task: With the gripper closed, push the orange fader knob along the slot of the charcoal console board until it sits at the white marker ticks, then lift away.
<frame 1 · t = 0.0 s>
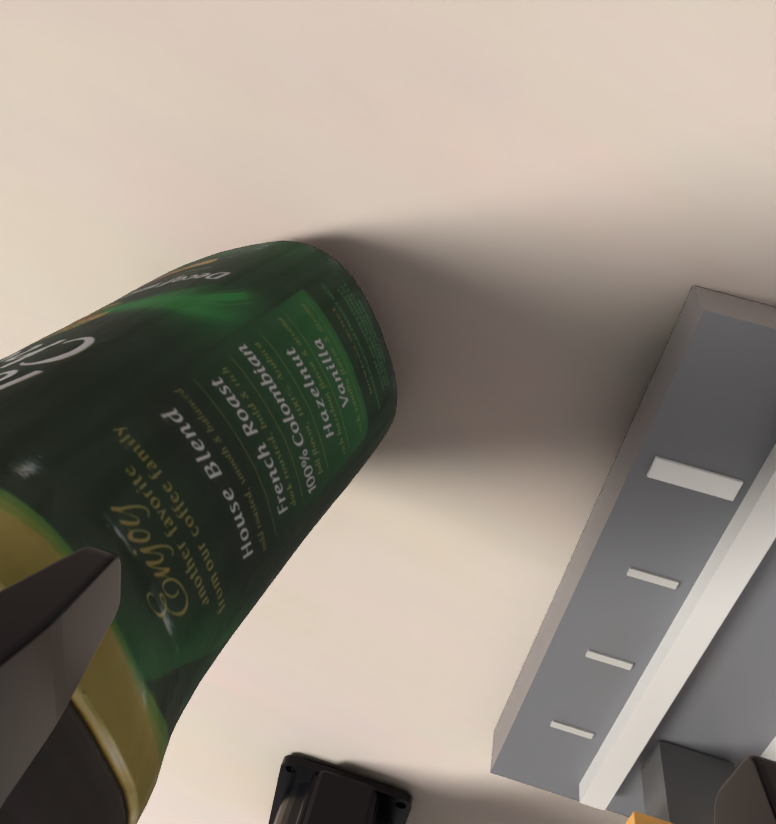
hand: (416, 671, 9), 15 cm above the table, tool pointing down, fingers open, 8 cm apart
coffee jar: (264, 354, 25), on the table, touching gripper
console: (752, 606, 26), on the table
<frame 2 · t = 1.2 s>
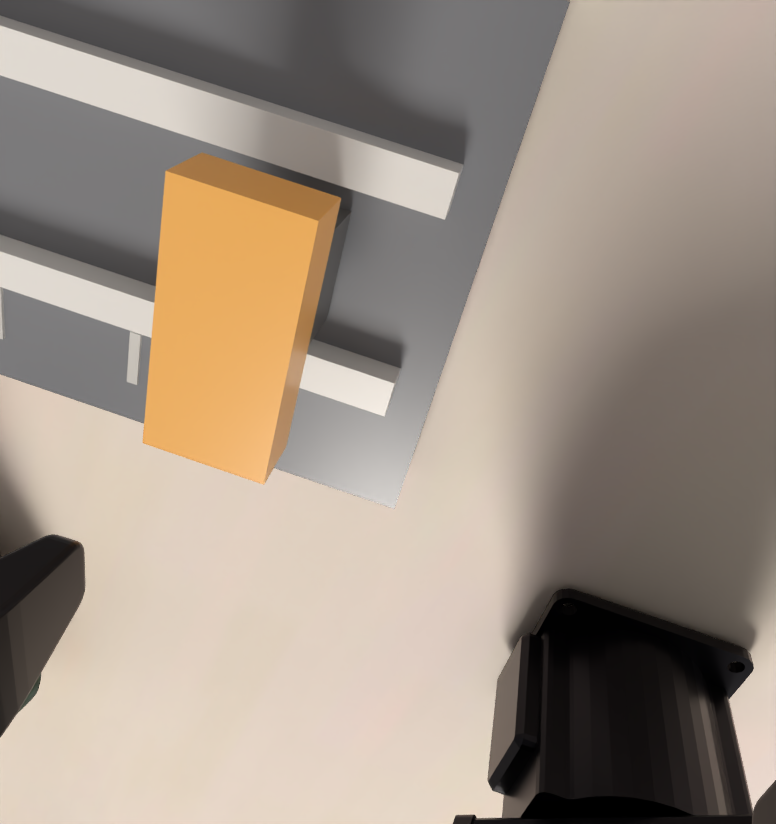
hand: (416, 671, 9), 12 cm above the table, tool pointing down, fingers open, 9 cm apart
console: (94, 153, 19), on the table
fader: (266, 294, 15), point 5 cm above the table, slide at 0.0 cm
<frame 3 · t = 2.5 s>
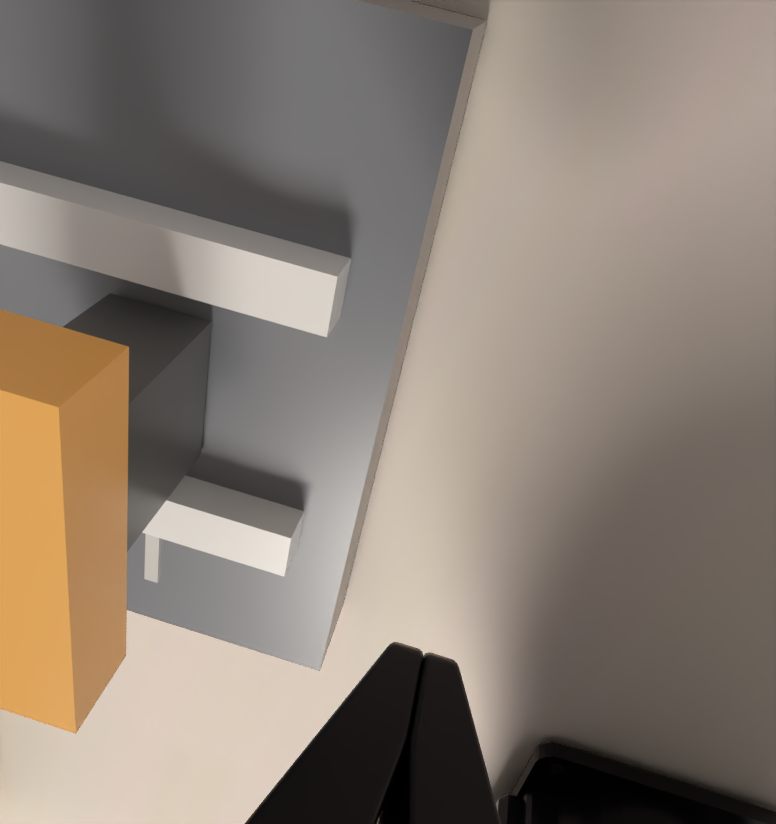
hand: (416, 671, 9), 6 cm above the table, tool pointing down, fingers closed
fader: (81, 454, 11), point 5 cm above the table, slide at 0.0 cm
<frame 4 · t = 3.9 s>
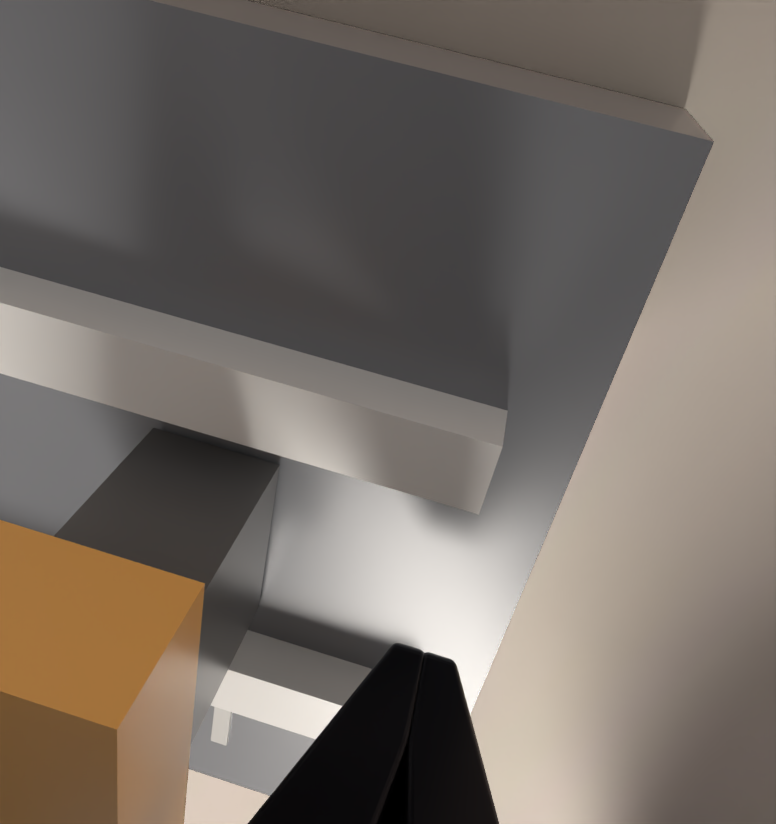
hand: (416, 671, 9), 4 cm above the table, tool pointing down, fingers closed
fader: (122, 655, 9), point 5 cm above the table, slide at 0.5 cm, touching gripper
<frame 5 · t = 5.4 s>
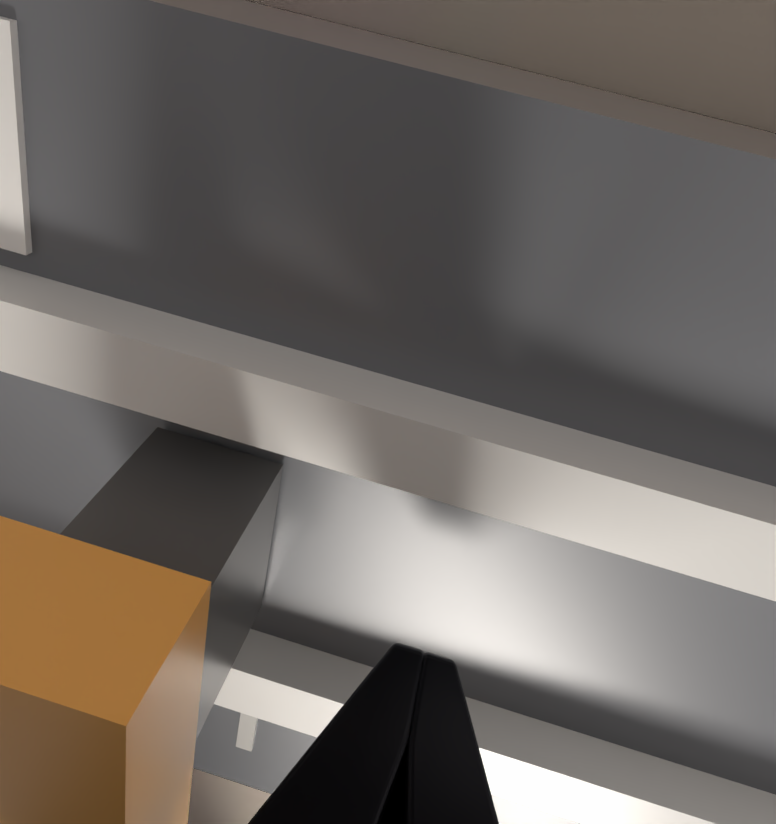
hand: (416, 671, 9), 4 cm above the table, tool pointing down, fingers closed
console: (403, 486, 12), on the table
fader: (127, 653, 9), point 5 cm above the table, slide at 9.0 cm, touching gripper
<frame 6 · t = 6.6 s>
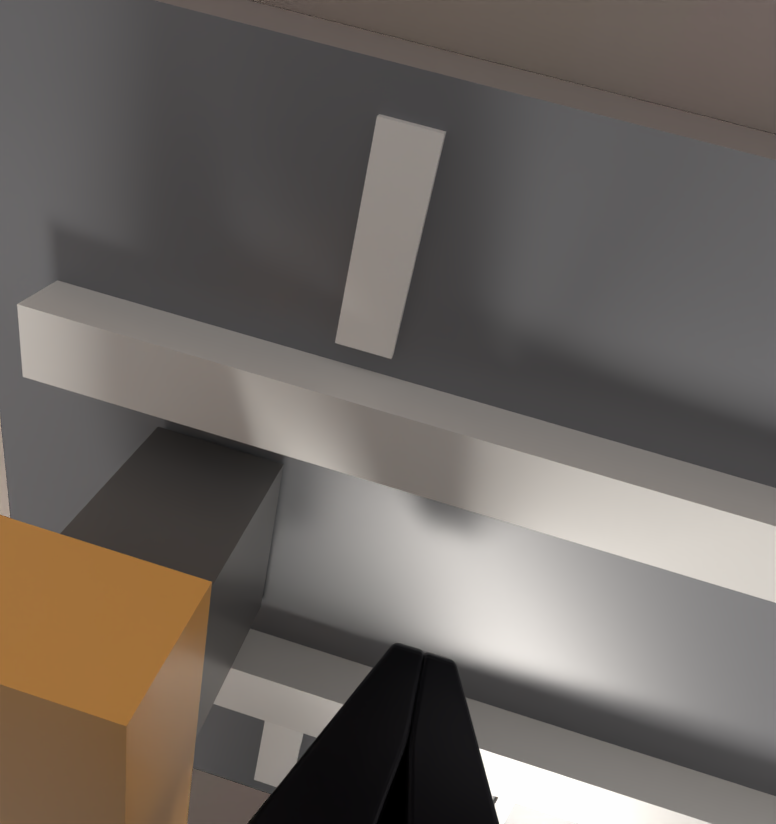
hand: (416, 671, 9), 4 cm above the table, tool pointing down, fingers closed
console: (679, 569, 12), on the table
fader: (127, 653, 9), point 5 cm above the table, slide at 13.6 cm, touching gripper
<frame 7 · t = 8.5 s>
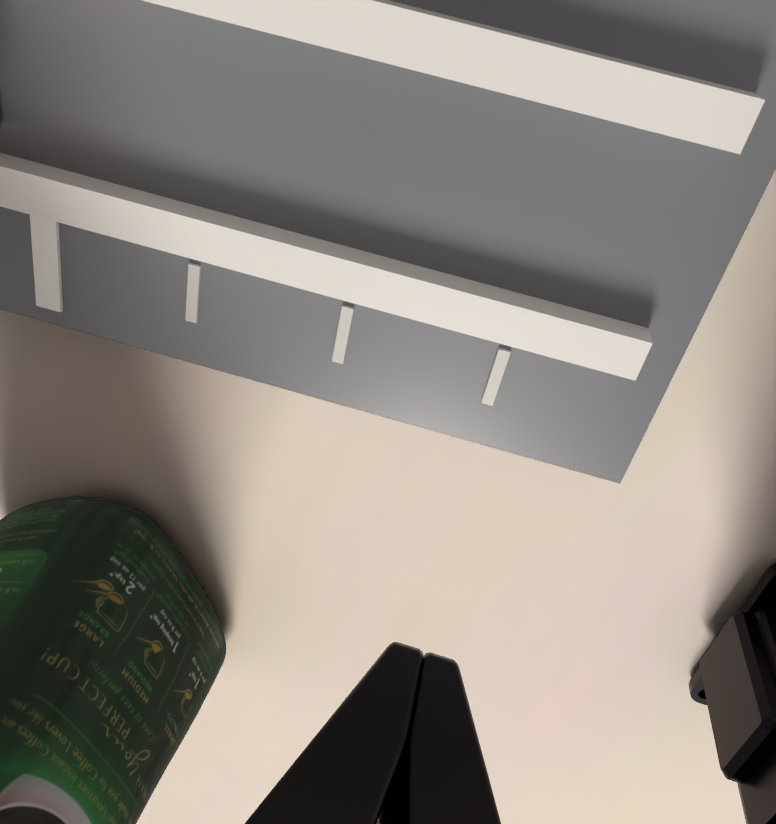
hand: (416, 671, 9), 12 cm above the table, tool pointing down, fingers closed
coffee jar: (124, 581, 29), on the table
console: (295, 116, 18), on the table
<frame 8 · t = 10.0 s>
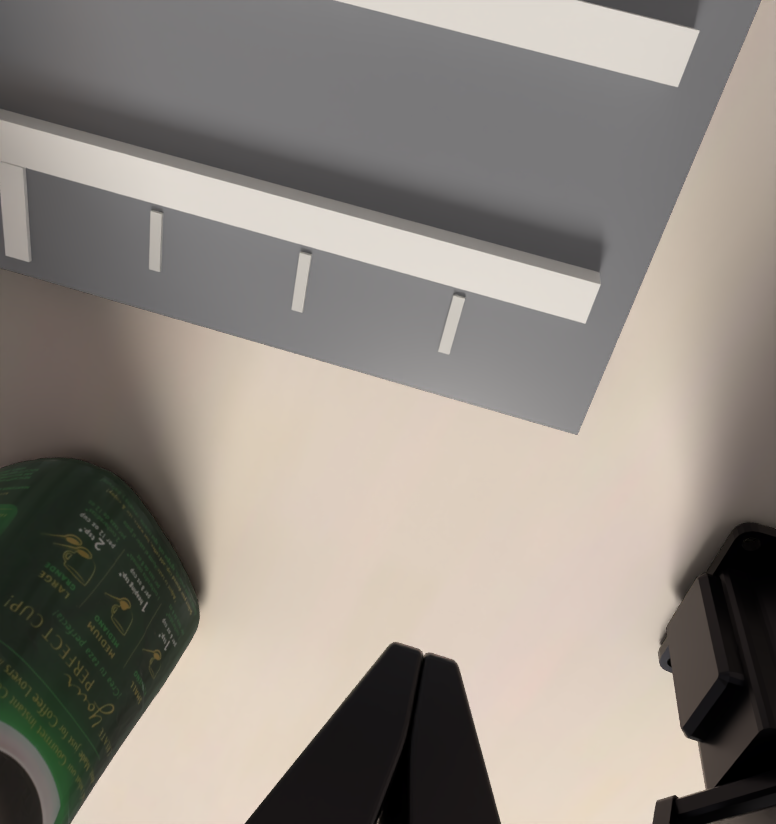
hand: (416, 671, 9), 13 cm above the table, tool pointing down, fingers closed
coffee jar: (101, 547, 29), on the table
console: (256, 66, 18), on the table
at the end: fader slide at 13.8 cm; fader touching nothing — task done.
